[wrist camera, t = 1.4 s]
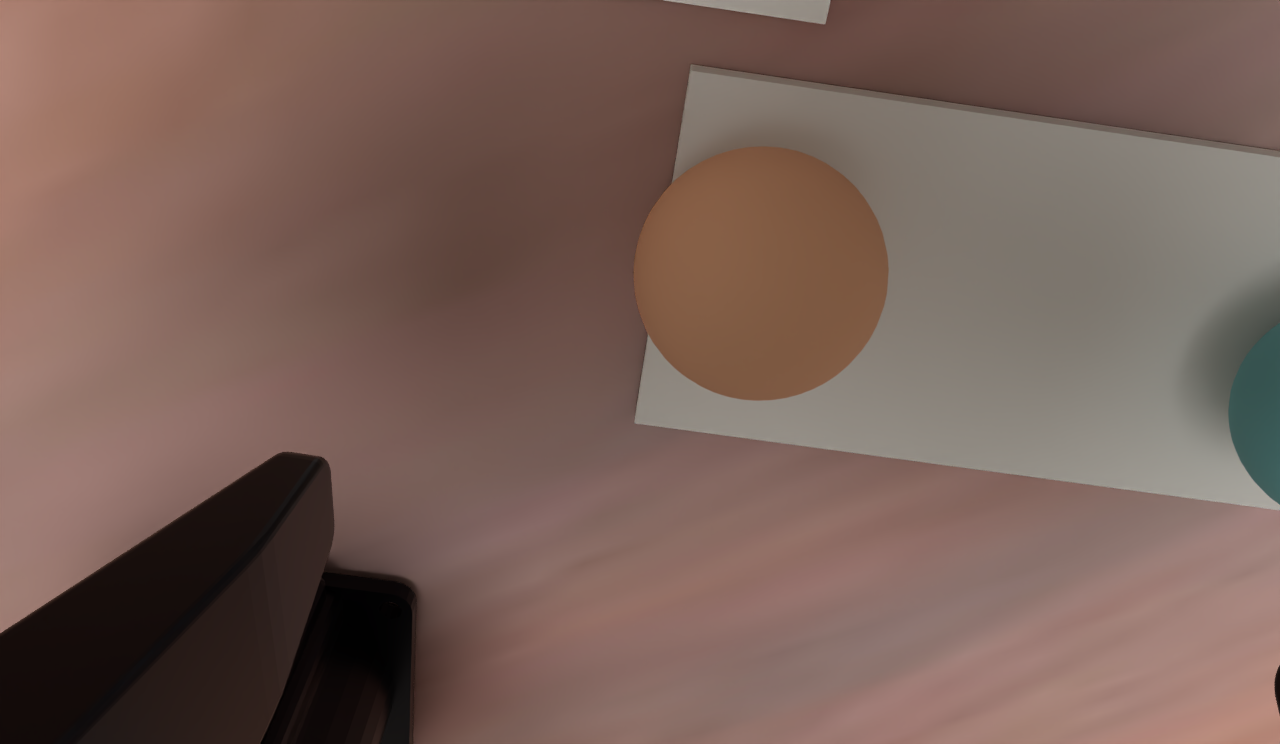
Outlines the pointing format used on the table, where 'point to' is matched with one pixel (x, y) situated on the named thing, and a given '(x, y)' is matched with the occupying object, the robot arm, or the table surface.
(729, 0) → the card
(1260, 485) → the teal ball
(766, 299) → the terracotta ball
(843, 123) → the mat
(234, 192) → the table surface
